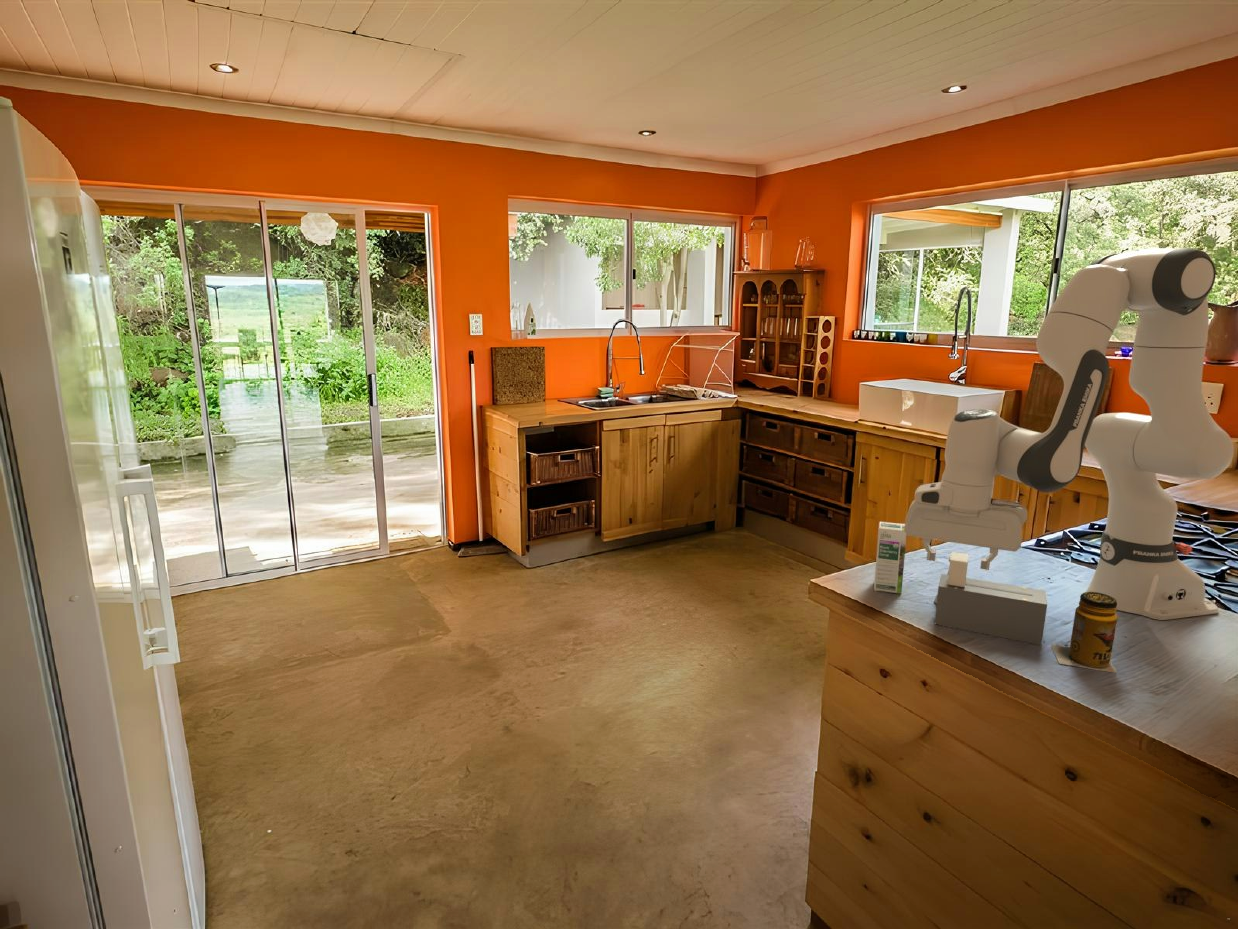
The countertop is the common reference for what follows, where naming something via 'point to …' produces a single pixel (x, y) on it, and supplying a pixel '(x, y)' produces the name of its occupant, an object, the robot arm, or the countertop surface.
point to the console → (992, 609)
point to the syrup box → (890, 557)
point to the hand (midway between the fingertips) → (957, 564)
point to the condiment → (1091, 633)
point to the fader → (958, 569)
